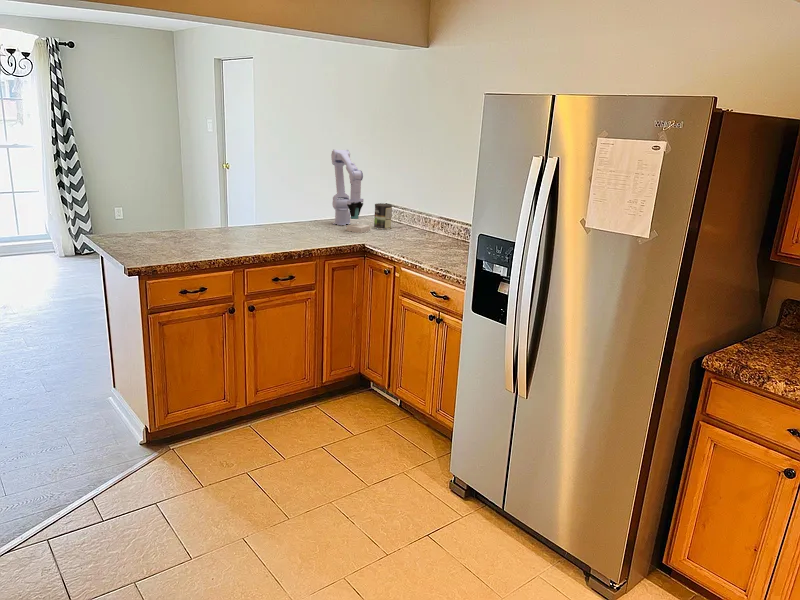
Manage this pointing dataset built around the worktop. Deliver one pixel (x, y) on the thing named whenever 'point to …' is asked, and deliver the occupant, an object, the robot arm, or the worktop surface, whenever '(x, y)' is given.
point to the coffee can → (382, 216)
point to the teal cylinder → (356, 214)
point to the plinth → (357, 228)
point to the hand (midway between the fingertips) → (354, 215)
